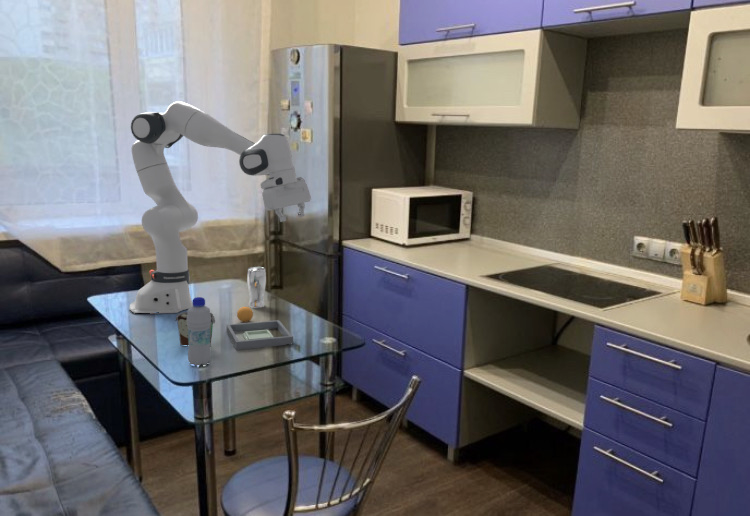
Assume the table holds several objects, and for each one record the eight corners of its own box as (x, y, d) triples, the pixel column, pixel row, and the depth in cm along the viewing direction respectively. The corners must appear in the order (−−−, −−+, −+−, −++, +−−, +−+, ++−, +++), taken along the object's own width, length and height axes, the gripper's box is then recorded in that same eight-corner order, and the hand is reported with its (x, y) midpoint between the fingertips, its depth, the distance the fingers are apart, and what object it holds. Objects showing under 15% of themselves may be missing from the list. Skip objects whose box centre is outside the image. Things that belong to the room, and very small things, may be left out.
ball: (238, 324, 205) (238, 309, 204) (235, 320, 210) (235, 305, 209) (254, 323, 207) (254, 308, 206) (251, 318, 212) (251, 304, 211)
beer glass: (261, 309, 224) (261, 271, 221) (244, 307, 225) (244, 269, 222) (268, 304, 230) (268, 267, 227) (251, 303, 232) (251, 266, 229)
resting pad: (247, 343, 187) (247, 340, 187) (242, 334, 195) (242, 331, 195) (275, 340, 190) (275, 337, 190) (269, 332, 198) (269, 328, 198)
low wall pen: (236, 349, 181) (236, 342, 180) (226, 331, 197) (226, 324, 197) (293, 344, 188) (293, 336, 188) (279, 327, 204) (279, 320, 204)
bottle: (202, 358, 173) (201, 293, 169) (216, 364, 169) (215, 297, 165) (182, 364, 168) (181, 297, 164) (196, 371, 164) (195, 302, 160)
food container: (221, 341, 188) (221, 311, 186) (214, 348, 182) (213, 317, 180) (184, 338, 189) (183, 309, 187) (176, 345, 183) (175, 314, 181)
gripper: (297, 177, 212) (305, 215, 214) (256, 184, 196) (265, 225, 198) (310, 174, 209) (318, 212, 210) (269, 181, 192) (279, 222, 194)
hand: (292, 219), depth 204 cm, fingers open, 8 cm apart
